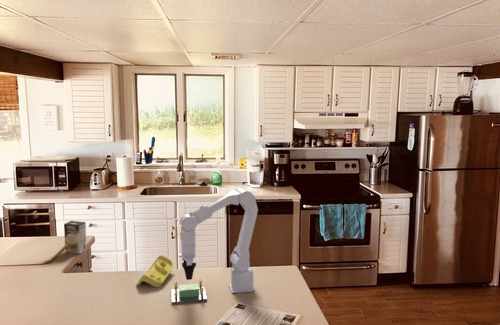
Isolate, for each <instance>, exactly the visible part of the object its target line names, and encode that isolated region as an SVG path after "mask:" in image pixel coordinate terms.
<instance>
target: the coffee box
mask: <svg viewBox="0 0 500 325" xmlns="http://www.w3.org/2000/svg"><path fill="white" fill-rule="evenodd" d="M63 228H64V251H65V253H67V252H68V254H76V253H77V255H78V254H79V255H80V254H82V253H84V252H85V251H87V233H86V222H85V221H77V220H70V221H68V222H66V223H64V227H63Z"/></svg>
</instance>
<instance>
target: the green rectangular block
mask: <svg viewBox="0 0 500 325" xmlns="http://www.w3.org/2000/svg"><path fill="white" fill-rule="evenodd" d="M199 287H200V285H199V283H189V284H179V285H178V289H179V298H182V297H193V296H199Z"/></svg>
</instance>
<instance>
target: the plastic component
mask: <svg viewBox="0 0 500 325" xmlns="http://www.w3.org/2000/svg"><path fill="white" fill-rule="evenodd" d="M173 268H174V261H172V259H170V258H169V257H167V256H164V255H163V254H160V255H158V257H157V258H156V260H154V262H153V263H152V265H151V266H150V267H149V269H148V270H147V271H146V272H145V274H142V276H141V278H140V279H139V280H138V281H137V283H136V285H137V286H140V285H141V284H142V283H143V282H145V283H147V284H149V285H151V286H153V287H154V288H160V287H161V286H162V285H163V284H164V282H165V281H166V280H167V278H168V277H169V275H170V273H171V272H172V270H173Z"/></svg>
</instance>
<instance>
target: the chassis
mask: <svg viewBox="0 0 500 325" xmlns="http://www.w3.org/2000/svg"><path fill="white" fill-rule="evenodd" d="M198 286H199V296H193V297H182V298H179V288H178V281H174V289H171V305H181V304H191V303H192V304H193V303H202V302H204V303H205V302H208V297H207V292H206V287H205V286H203V280H202V279H199V281H198Z"/></svg>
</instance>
